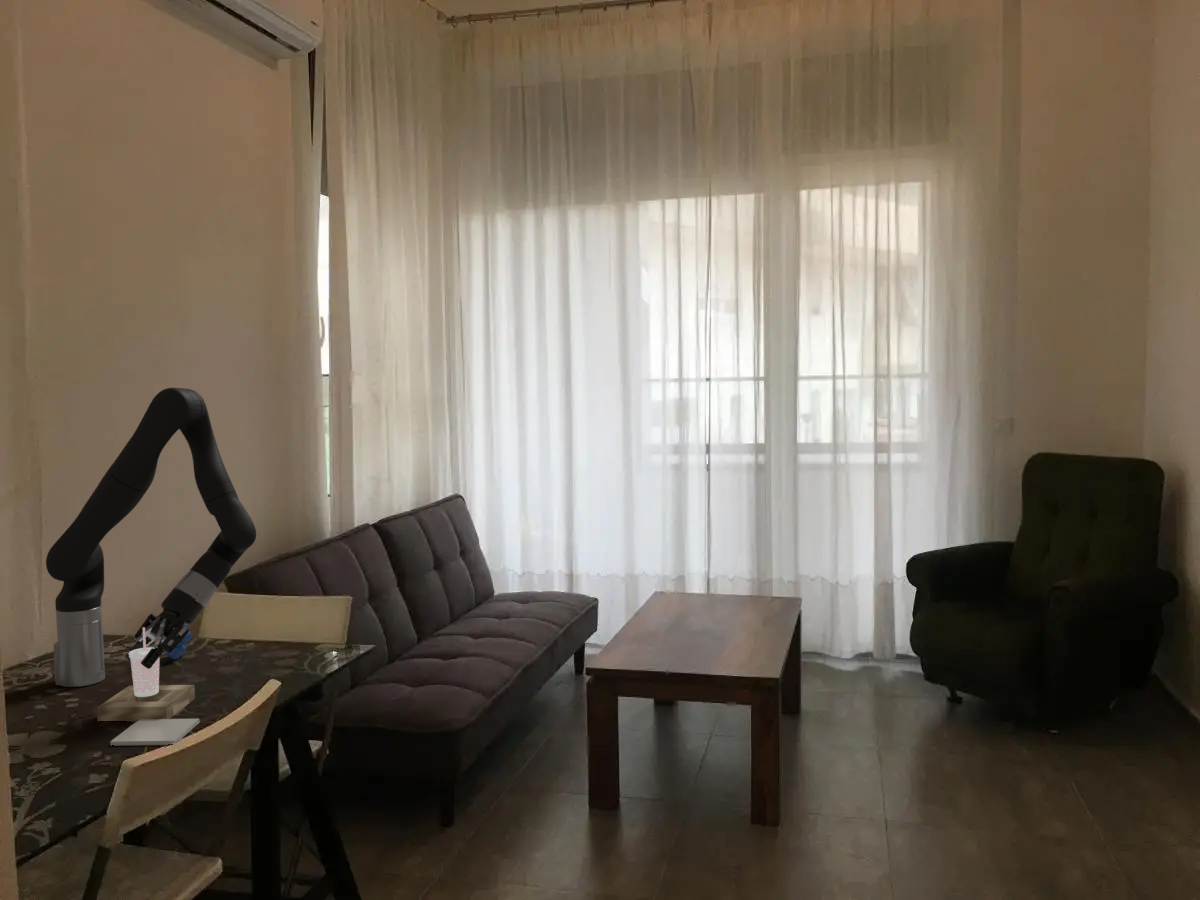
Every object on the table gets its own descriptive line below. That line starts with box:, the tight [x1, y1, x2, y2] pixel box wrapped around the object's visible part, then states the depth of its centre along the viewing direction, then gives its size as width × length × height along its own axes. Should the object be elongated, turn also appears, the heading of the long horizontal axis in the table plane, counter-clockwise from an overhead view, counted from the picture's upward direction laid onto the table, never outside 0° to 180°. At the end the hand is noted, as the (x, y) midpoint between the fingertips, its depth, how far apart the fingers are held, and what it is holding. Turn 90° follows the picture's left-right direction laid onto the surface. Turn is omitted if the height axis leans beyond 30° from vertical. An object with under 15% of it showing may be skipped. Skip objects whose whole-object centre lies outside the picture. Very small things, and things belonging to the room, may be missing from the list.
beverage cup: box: [128, 627, 161, 697], centre depth 206 cm, size 6×6×14 cm
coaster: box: [109, 718, 201, 747], centre depth 193 cm, size 12×12×1 cm
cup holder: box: [96, 684, 196, 723], centre depth 207 cm, size 14×14×3 cm
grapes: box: [164, 623, 193, 660], centre depth 243 cm, size 12×7×12 cm, turn 179°
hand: (137, 663), depth 205 cm, fingers closed on beverage cup, 6 cm apart
